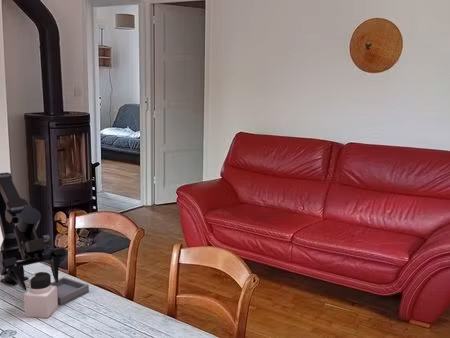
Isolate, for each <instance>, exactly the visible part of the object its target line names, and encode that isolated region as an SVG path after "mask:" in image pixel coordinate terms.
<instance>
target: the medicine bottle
mask: <svg viewBox="0 0 450 338" xmlns="http://www.w3.org/2000/svg"><path fill="white" fill-rule="evenodd" d="M51 282H52V277H51V274H50V273H48V272H47V271H46V272H44V271H38V272H35V273H32V274H31V275H29V277H28V285H29V287H28V288H29V289H28V290H26V291H25V293H24V294H23V305H24V307H23V308H24V316H25V317H26V318H37V319H38V318H41V319H48V318H49V317H51V315H52V314H53V313H54V312H55V311H56V310H57V308H58V307H59V305H58V299H57V286H51Z"/></svg>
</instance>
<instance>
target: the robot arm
mask: <svg viewBox="0 0 450 338" xmlns="http://www.w3.org/2000/svg"><path fill="white" fill-rule="evenodd" d="M15 185H16V184H14V181H13V177H12V174H11V173H10V172H0V230H1V235H2V239H3V240H2V241H1V244H0V276H2V277H3V276H4V278H2V279H0V282H1V283H4V284H7V285H10V286H14V285H19V287H20V288H21V289H22V290H23V291H24V292H27V285H26V282H25V281H26V280H29V277H28V276H25V269H24V267H25V266H29V265H34V264H38V263H43V262H47V261H49V262H50V269H51V273H52V276H53V279H54V281H55V282H56V283H58V279H59V271H60V270H59V267H60V265H61V263H63V262H64V261H65V258H66V256H67V255H68V252H67V249H66V248H65V247H64V246H60V247H56V248H52V249H51V250H50V253H47V254H44V253H45V249H47V247H49V246H51V245H52V240H51V237H50V234H45V235H42V236H41V238H39V237H38V236H37V233H36V230H37V229H38V227H39V226H38V225H39V224H40V221H41V219H42V213H41V212H40V211H39V210H38V209H37V208H35V207H33V206H32V205H31V204H29V202H28V201H27V199H24V198H22V197H21V196H20V194H19V192H18V189H17V187H16V186H15ZM15 224H16V225H15Z"/></svg>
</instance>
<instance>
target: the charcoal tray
mask: <svg viewBox="0 0 450 338" xmlns="http://www.w3.org/2000/svg"><path fill="white" fill-rule="evenodd" d="M51 286H57V299H58V306H60V307H62V306H64V305H65V304H68V303H70V302H73V300H76V299H78V298H80V297H82V296H84V295H85V294H88V293H89V292H90V288H89V287H90V285H89V284H88V283H87V284H86V283H83V282H80V281H77V280H75V279H71V278H69V277H65V276H63V277H60V278H58V283H56V282H55V280H54V281H51Z"/></svg>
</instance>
